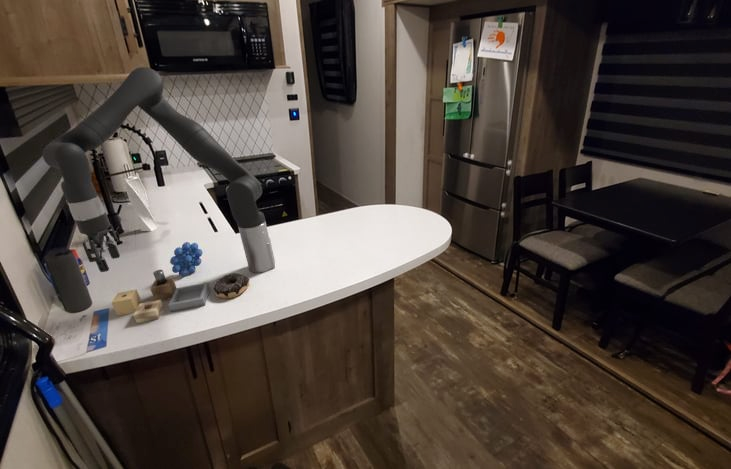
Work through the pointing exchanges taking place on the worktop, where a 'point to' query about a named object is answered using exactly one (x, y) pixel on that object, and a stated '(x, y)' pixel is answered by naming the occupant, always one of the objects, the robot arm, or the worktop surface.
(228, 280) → the donut
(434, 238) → the worktop surface
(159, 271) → the cylinder
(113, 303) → the block
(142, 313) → the stand
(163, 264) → the worktop surface
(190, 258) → the grapes
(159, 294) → the block
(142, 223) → the skyscraper
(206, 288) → the tray
